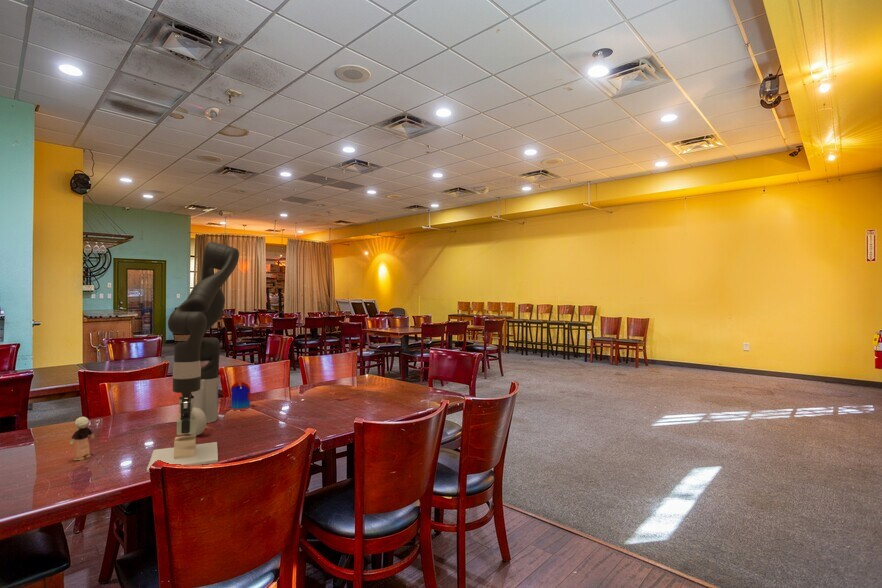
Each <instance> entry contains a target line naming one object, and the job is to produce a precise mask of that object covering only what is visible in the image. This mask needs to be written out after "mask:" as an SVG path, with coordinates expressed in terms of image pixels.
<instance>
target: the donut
mask: <svg viewBox="0 0 882 588" xmlns="http://www.w3.org/2000/svg"><path fill="white" fill-rule="evenodd" d="M191 413H192V414H191V415H190V416H191V417H192V416H195V420H196V424H195V433H190V434H189V436H190V435H196V437H197V436H200V435H201V434H202V433H203V432H204V431H205V429H206V427H207V424H208V423H207V421H206V416H205V414H204V412H203V411H202V410H201V409H200V408H197V407H195V408H193V409H192V412H191Z"/></svg>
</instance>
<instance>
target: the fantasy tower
mask: <svg viewBox="0 0 882 588" xmlns="http://www.w3.org/2000/svg"><path fill="white" fill-rule="evenodd" d="M230 388H231V389H230V392H231V400H230V402H231V404H230V407H229V408H228V407H224V408H222V411H223V410H224V411H223V412H226V411H225V410H229V409H230V410H240V411H246V410H247V409H248V410H250V409H249V408H251V409H253V408H258V407H257V406H258V405H257V404H255V403H254V404H253V403H252V405H250V404H251V386H250V385H249V384H248V383H247V382H246V381H241V382H240V385H239V382H238V381H237V382H235V383H233V385H231V387H230ZM252 406H253V407H252ZM230 410H229V411H230ZM248 410H247V411H248ZM247 411H246V412H247Z"/></svg>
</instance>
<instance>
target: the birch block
mask: <svg viewBox="0 0 882 588" xmlns="http://www.w3.org/2000/svg"><path fill="white" fill-rule="evenodd" d="M196 440H197V436H196V435H190V434H189V435H183V436H182V435H181V436H176V437H174V442H173V447H174V459H178V458H185V457H193V456H195V451H196V445H197V442H196Z"/></svg>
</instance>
